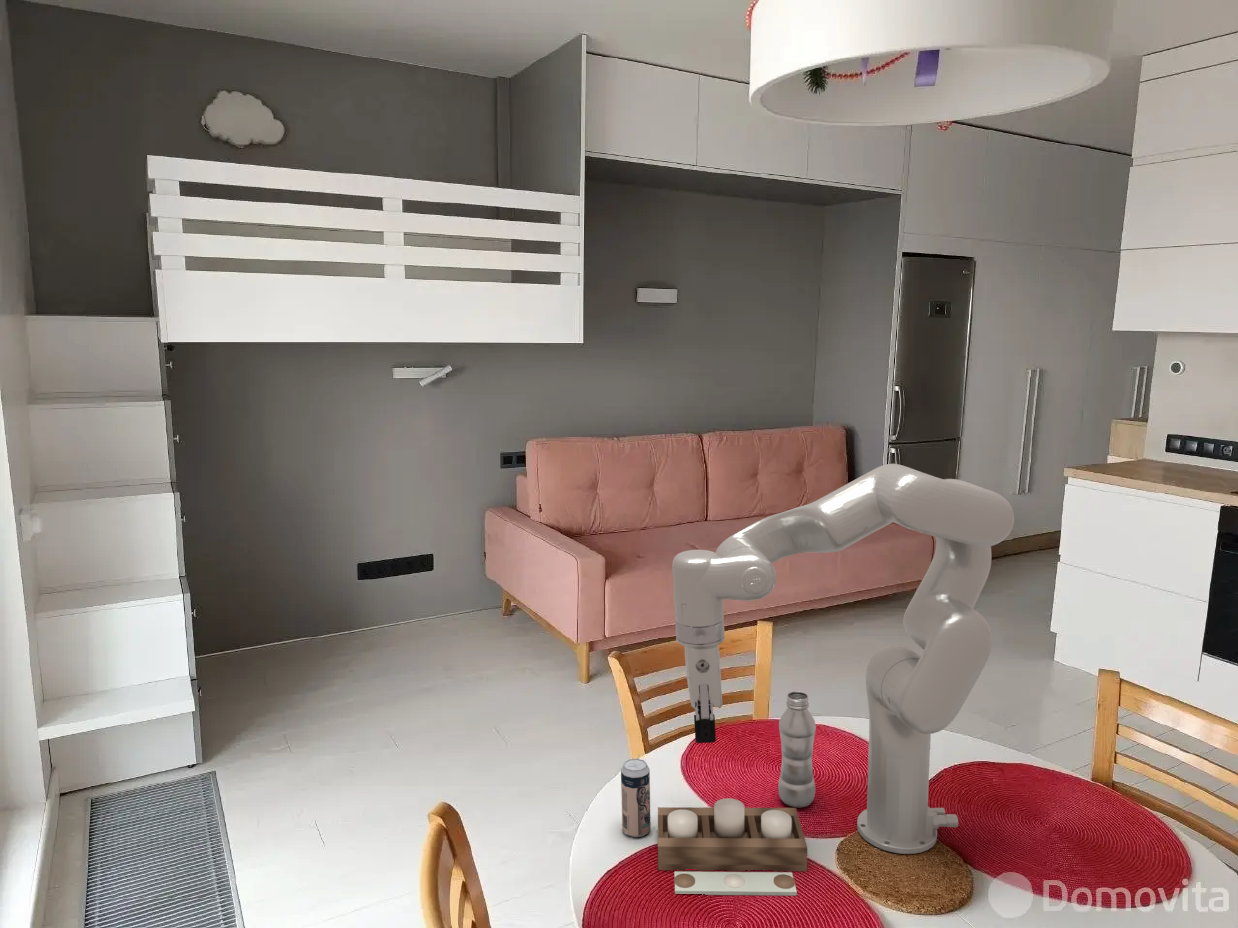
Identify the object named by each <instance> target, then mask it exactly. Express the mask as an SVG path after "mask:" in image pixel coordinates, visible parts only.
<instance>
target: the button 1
mask: <svg viewBox="0 0 1238 928" xmlns="http://www.w3.org/2000/svg"><path fill="white" fill-rule="evenodd" d="M668 838H698V818H697V815H696V814H695V813H694V812H692V811H689V810H683V809H681V810H675V811H673V812H671V813H670V814H669V815H668Z"/></svg>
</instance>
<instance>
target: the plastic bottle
mask: <svg viewBox="0 0 1238 928" xmlns="http://www.w3.org/2000/svg"><path fill="white" fill-rule="evenodd" d="M809 705H810V703H809V695H808V694H807V693H806V692H803V691H797V690H796V691H791V692H789V693H787V695H786V707H787V708H786V709H785V711H783V713H782V715H781V716H780V719H779V722H778V730H779V736H780V743H781V744H780V745H781V767H780V774H779V779H778V785H777V789H778V794H779V798H780V800H781V801H782V802H783V804H785V805H786V806H789V807H790V808H796V809H797V808H805V807H808V806H810V805H811V804H812V802H813V801H814V799H815V796H816V795H815V794H816V783H815V778H814V771H813V770H814V769H813V754H814V752H813V751H814V750H813V749H814V742H815V736H816V729H817V728H816V727H817V724H816V721H815V718H814V717H813V714H811V712H810V711H809V710H808V708H809V707H810V706H809Z"/></svg>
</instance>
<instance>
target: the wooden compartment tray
mask: <svg viewBox="0 0 1238 928" xmlns="http://www.w3.org/2000/svg"><path fill="white" fill-rule="evenodd" d="M681 809H683V810H689V811H692V812H694V813H695V814H696V815H697V818H698V838H668V815H669V814H670V813H671V812H673V811H675V810H681ZM769 810H780V811H783V812H786V813H787V814H789V815H790V816H791V819H792V830H791V839H769V838H761V816H762V814H763V813H764V812H766V811H769ZM657 865H658V866H657V870H658V871H687V870H686V869H696V870H695V871H714V870H721V871H720V872H724V871H723V870H727V871H726V872H746V871H745V870H748V871H747V872H751V871H750V870H763V871H762V872H766V871H765V870H774V871H773V872H808V845H807V841H806V838H805V835H804V832H803V827H802V824H801V822H800V817H799V814H798V810H797V807H744V836H743V837H742V838H719V837H718V836H716V834H715V832H714V807H688V806H687V807H674V806H672V807H671V806H670V807H669V806H667V807H666V806H665V807H663V806H662V807H660V806H658V807H657ZM677 869H678V870H677Z"/></svg>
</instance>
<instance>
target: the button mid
mask: <svg viewBox="0 0 1238 928" xmlns="http://www.w3.org/2000/svg"><path fill="white" fill-rule="evenodd" d="M713 805H714V806H713V808H714V832H715V834H716V836H718V837H719V838H742V837H743V836H744V808H745V804H744V803H743V802H742V801H740V800H738V799H735V798H732V797H731V798H728V797H727V798H721V799H717V801H716V802H715V803H714V804H713Z"/></svg>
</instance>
